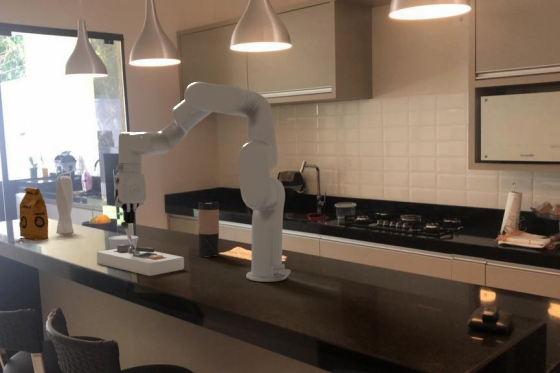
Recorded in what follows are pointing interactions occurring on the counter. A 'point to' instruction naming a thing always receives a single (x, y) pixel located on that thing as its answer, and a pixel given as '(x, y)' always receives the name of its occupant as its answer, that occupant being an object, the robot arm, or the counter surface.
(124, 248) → the charcoal button
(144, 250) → the black rocker
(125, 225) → the toggle lever
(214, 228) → the travel mug
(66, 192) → the skyscraper
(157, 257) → the terracotta button
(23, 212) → the coffee package
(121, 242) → the ramekin
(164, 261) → the control panel
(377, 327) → the counter surface
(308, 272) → the counter surface
